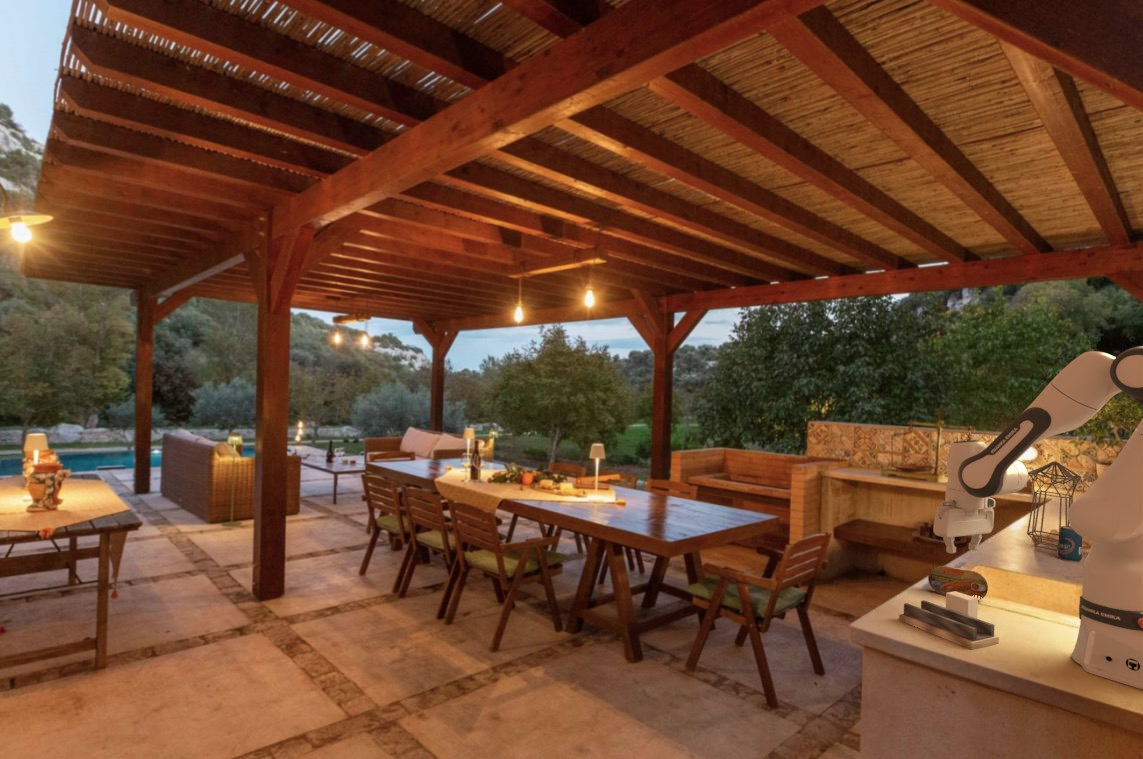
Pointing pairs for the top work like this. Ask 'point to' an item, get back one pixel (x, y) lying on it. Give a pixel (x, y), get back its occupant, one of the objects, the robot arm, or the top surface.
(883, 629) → the top surface
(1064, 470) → the geometric lantern
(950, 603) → the block
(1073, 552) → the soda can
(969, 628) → the rail board
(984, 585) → the tin
